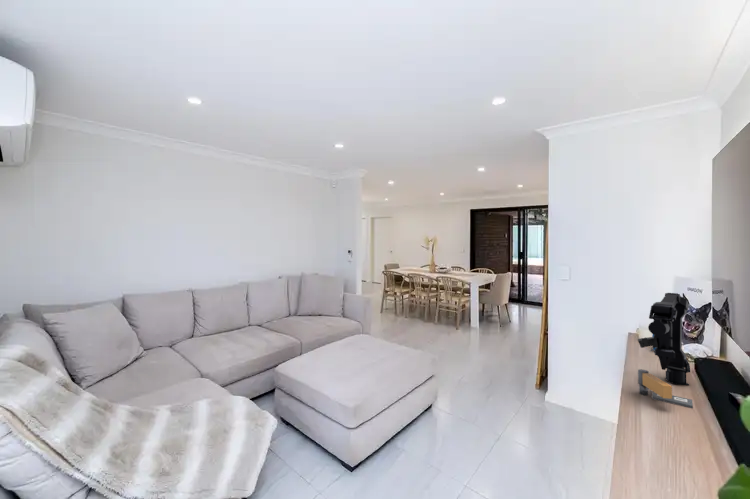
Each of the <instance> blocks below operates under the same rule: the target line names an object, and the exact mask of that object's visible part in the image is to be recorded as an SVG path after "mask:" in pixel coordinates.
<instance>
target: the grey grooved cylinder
mask: <svg viewBox="0 0 750 499" xmlns="http://www.w3.org/2000/svg"><path fill="white" fill-rule="evenodd" d="M638 387H639V388H638V394H639V395H641V396H642V395H643V396H649V388H647V387H646V386H643V385H640V384H638Z"/></svg>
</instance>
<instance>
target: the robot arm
mask: <svg viewBox="0 0 750 499" xmlns="http://www.w3.org/2000/svg"><path fill="white" fill-rule="evenodd" d="M688 310H689V302H688V299H686V298H684V297H683V296H681V294H680V293H678V292H677V293H676V292H666V293H664V296H663V298H662V299H661V300H660V301H656V302H654V303H653V304H652V305H651V306H650V311H649V314H648V315H649V316H648V319H649V320H653V321H651V322H650V323H649V324H648V331H649V332H650V334H651V335H653V337H652V336H649V337H644V338H643V337H641V338H638V339H637V341H638V343H639V347H640V348H641V349H642V348H646V347H652V349H653V348H654V349H655V348H656V349H655V350H653V353H654V355H655V356H657V357H658V360H659V364H660V368H661V370H662V371H665V377H664V380H665V381H667V382H669V383H670V384H672V385H678V386H679V385H681V386H682V385H683V386H690V383H688V382H687V373H691V365H690V363H689V360H688V359H687V354H685V352H684V351H683V349H682V348H683V346H682V344H683V342H682V340H683V338H682V337H683V336H682V335H683V334H682V333H683V318H684V317H685V316H686V315H687V314H688V312H687V311H688Z"/></svg>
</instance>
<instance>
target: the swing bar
mask: <svg viewBox="0 0 750 499" xmlns="http://www.w3.org/2000/svg"><path fill="white" fill-rule="evenodd" d="M637 376H638V377H637V378H638V379H637V384H638V385H639V384H640V385H643V386H646V387H647V388H648V390H650V391H652V393H653V392H655V393H656V394H658V395H659V396H661V397H662V398H669V399H672V395H673V387H672V385H671V384H669V383H667V382H666V381H664V380H662V379H660V378H659V377H657V376H655V375H653V374H652V373H650V372H649V371H648V370H645V369H640V368H639V369H637Z"/></svg>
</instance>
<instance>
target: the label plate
mask: <svg viewBox="0 0 750 499" xmlns="http://www.w3.org/2000/svg"><path fill="white" fill-rule="evenodd" d="M651 399H652V400H655V401H660V402H664V403H668V404H672V405H673V404H674V405H676V406H681V407H685V408H691V409H693V408H694V407H693V399H690V398H688V397H687V398H686V397H683V396H677V395H673V394H672V399H669V398H662V397H661V396H659V395H658V394H656V393H655V392H653V391H652V395H651Z"/></svg>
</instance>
